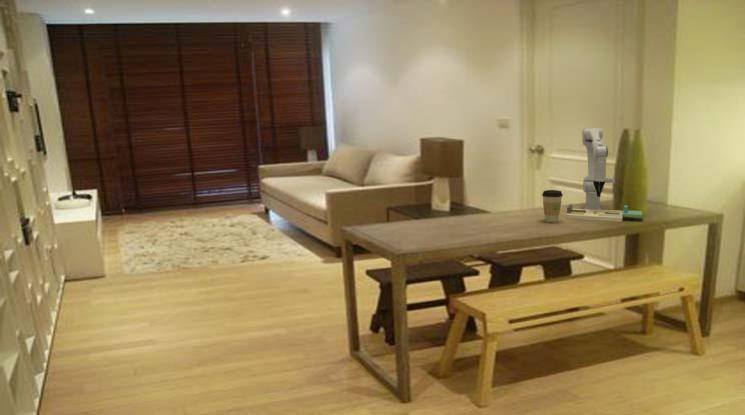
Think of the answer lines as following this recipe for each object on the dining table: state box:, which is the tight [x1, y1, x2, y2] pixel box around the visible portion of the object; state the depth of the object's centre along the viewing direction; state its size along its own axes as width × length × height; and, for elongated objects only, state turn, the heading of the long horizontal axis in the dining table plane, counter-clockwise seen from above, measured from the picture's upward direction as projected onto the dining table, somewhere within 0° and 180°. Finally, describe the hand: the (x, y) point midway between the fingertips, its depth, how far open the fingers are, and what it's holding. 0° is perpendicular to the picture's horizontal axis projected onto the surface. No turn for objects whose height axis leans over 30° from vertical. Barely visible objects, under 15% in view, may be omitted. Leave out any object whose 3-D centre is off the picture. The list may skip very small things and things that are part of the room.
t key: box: [566, 203, 586, 214], centre depth 313 cm, size 9×9×3 cm
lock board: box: [565, 208, 624, 223], centre depth 310 cm, size 16×26×3 cm, turn 65°
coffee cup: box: [541, 189, 564, 223], centre depth 302 cm, size 10×10×15 cm
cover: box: [622, 205, 643, 218], centre depth 301 cm, size 9×9×4 cm
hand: (598, 196), depth 311 cm, fingers closed
